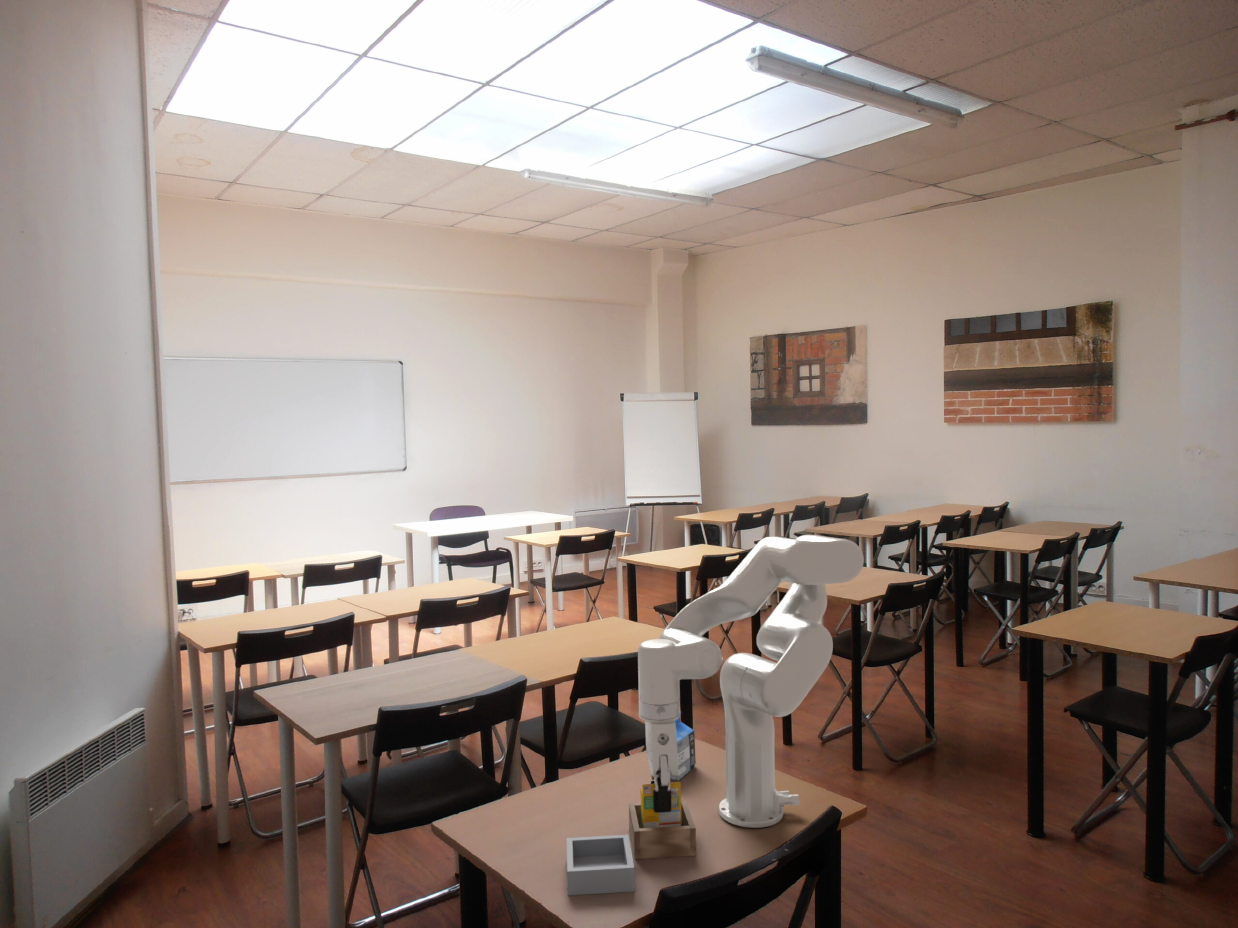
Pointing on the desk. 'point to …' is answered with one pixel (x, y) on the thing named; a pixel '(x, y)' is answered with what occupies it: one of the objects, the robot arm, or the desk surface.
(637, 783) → the desk surface
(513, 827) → the desk surface
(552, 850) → the desk surface
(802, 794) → the desk surface
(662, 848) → the sleeve block
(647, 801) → the crayon box
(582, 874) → the block
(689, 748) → the label tape box
